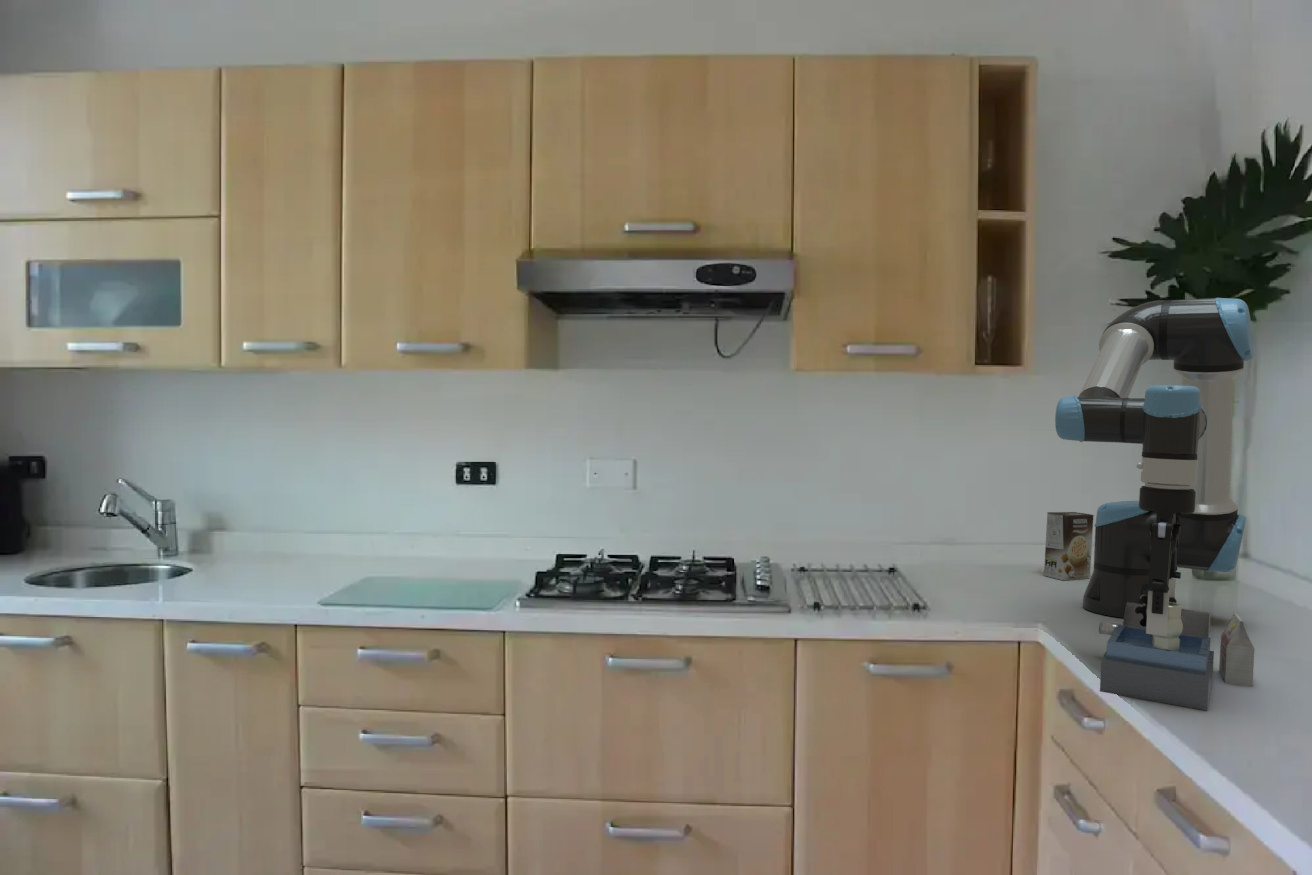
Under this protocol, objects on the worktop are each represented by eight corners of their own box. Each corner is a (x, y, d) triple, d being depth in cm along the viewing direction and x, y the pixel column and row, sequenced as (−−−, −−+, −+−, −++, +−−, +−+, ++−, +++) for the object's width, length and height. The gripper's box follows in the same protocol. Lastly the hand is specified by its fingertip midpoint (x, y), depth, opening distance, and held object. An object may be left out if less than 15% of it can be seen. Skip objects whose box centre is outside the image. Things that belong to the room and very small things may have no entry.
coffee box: (1063, 581, 224) (1066, 515, 224) (1043, 576, 230) (1045, 512, 230) (1091, 578, 228) (1094, 514, 227) (1070, 573, 234) (1073, 511, 233)
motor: (1102, 649, 163) (1105, 593, 163) (1214, 667, 154) (1218, 608, 153) (1078, 687, 141) (1081, 623, 141) (1207, 710, 132) (1210, 641, 132)
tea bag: (1245, 674, 150) (1248, 614, 150) (1252, 686, 144) (1255, 623, 144) (1219, 671, 152) (1222, 611, 151) (1224, 682, 146) (1228, 620, 145)
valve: (1193, 653, 135) (1179, 633, 146) (1195, 608, 134) (1181, 592, 146) (1142, 648, 137) (1133, 629, 148) (1144, 604, 137) (1135, 588, 148)
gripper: (1147, 479, 153) (1141, 608, 154) (1131, 489, 133) (1123, 638, 134) (1200, 482, 149) (1193, 615, 150) (1191, 494, 129) (1182, 647, 130)
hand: (1160, 626), depth 142 cm, fingers closed on valve, 12 cm apart
